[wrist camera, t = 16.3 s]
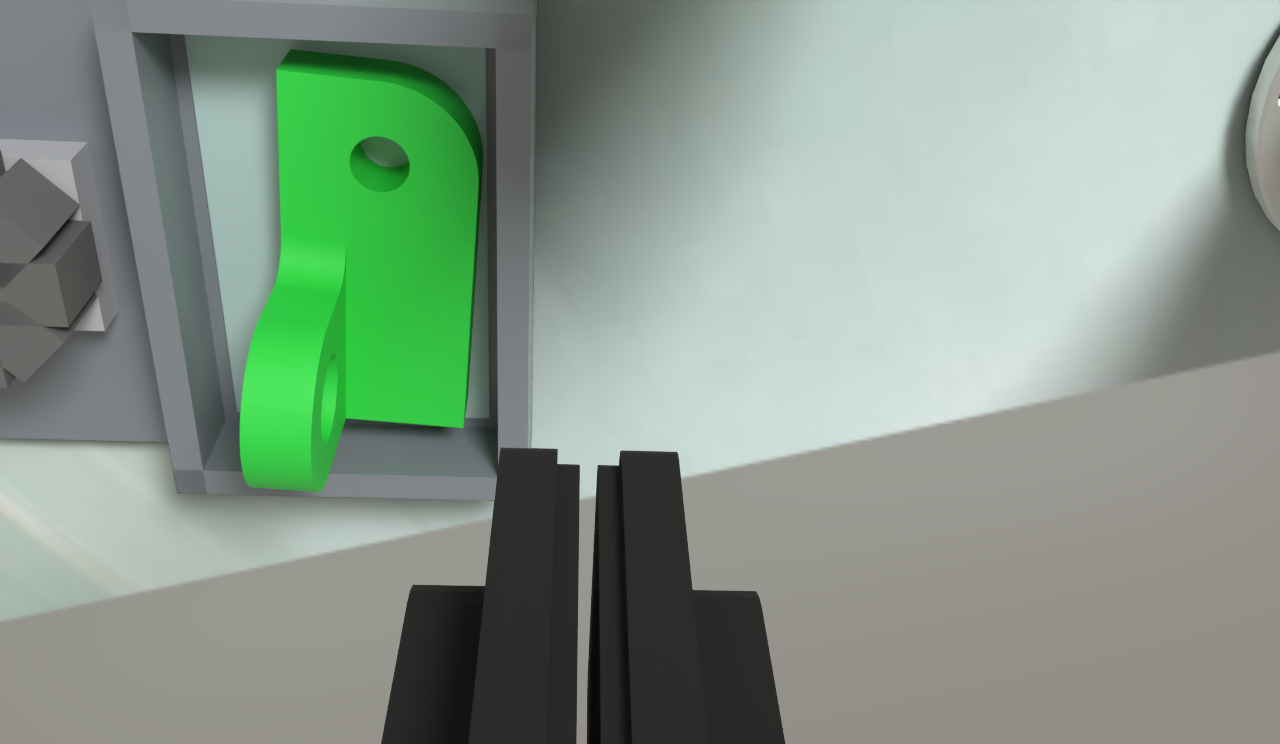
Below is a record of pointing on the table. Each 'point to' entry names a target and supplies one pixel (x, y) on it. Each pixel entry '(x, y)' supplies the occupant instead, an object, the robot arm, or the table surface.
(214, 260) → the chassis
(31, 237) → the wheel
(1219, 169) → the table surface
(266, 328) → the mechanical part
